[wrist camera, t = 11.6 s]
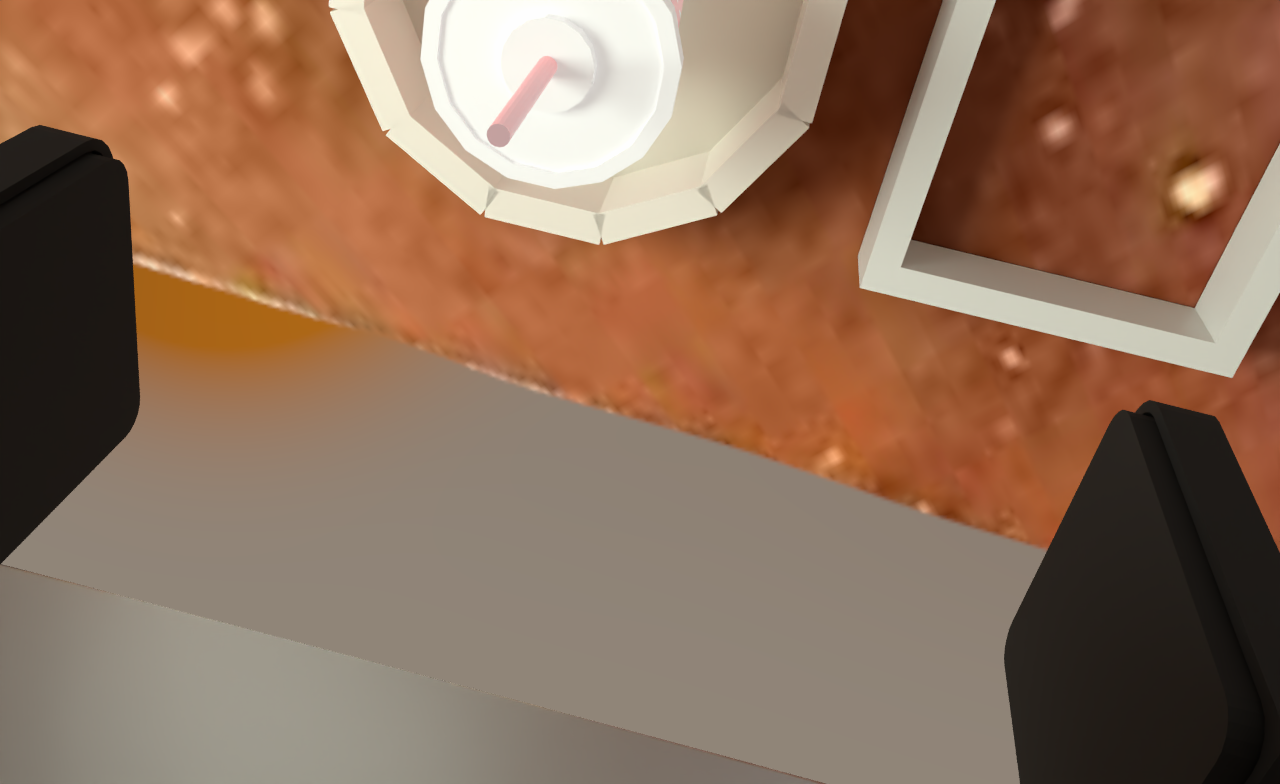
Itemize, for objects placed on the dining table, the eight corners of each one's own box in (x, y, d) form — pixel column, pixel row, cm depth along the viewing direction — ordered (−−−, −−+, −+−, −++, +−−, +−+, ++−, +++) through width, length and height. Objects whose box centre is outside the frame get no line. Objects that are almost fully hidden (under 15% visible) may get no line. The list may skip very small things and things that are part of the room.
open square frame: (1407, -26, 33) (1446, -7, 31) (1210, 341, 39) (1232, 377, 37) (985, -127, 33) (996, -114, 31) (857, 255, 39) (859, 287, 37)
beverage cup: (742, 39, 35) (701, 224, 23) (559, 109, 37) (435, 314, 25) (665, -171, 32) (575, -83, 21) (472, -84, 34) (287, 43, 22)
